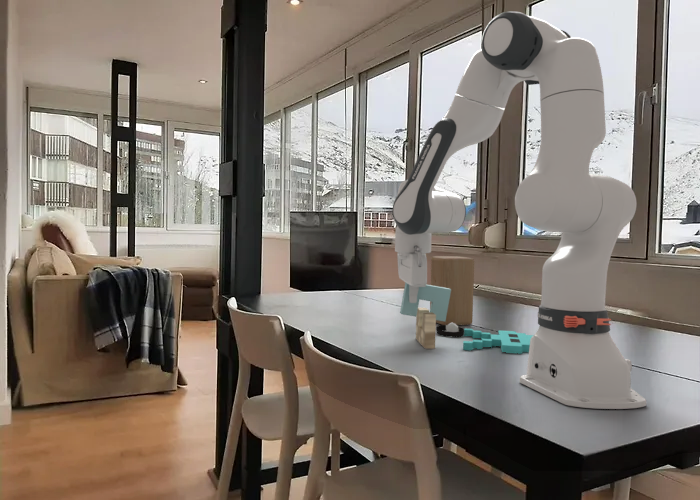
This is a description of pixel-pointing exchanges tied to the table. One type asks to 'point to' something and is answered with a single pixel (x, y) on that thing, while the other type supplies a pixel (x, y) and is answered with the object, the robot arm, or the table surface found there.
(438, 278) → the wooden block
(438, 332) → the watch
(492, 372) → the table surface
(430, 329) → the birch board
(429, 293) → the teal plate
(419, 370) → the table surface
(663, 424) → the table surface
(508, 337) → the alien figure
